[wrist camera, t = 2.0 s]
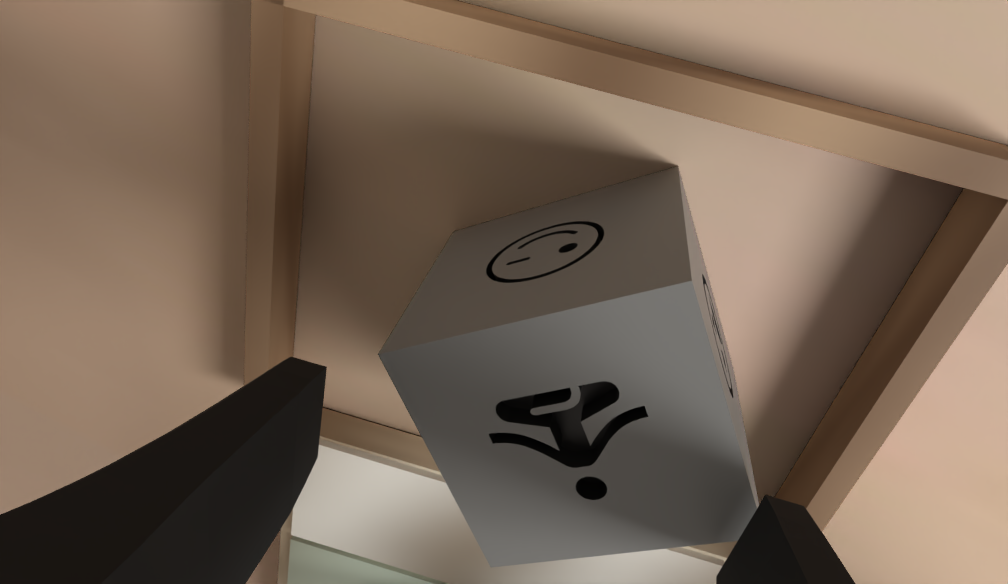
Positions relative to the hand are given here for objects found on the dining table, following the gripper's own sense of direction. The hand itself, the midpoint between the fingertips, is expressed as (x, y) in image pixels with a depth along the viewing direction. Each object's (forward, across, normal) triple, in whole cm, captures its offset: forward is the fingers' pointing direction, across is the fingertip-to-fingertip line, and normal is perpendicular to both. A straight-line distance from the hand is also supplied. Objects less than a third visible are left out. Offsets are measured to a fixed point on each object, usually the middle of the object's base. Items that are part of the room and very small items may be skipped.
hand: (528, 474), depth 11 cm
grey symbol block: (+6, -1, 0) cm, 6 cm away
